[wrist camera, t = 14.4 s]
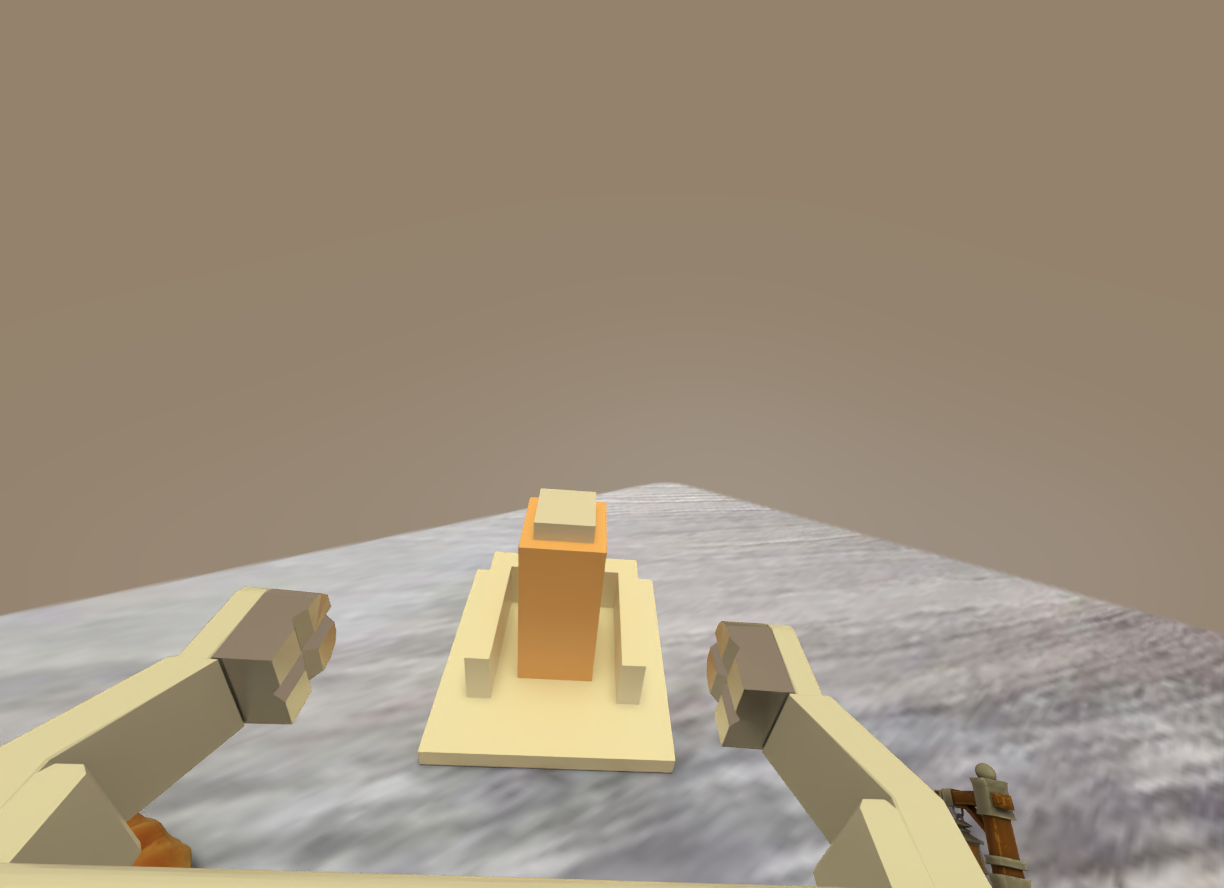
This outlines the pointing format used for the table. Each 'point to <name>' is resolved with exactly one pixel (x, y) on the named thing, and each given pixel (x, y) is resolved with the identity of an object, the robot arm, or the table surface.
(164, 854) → the pastry
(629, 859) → the table surface
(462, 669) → the holder
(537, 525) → the block
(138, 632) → the table surface
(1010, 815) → the wooden post with brackets
